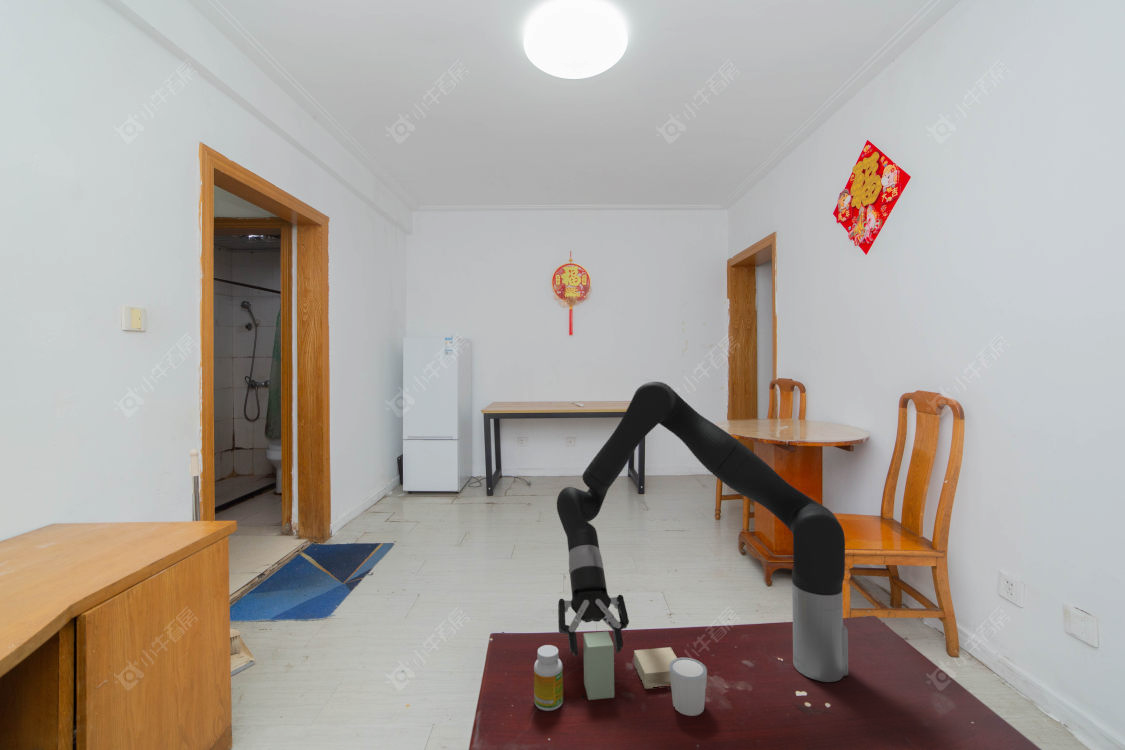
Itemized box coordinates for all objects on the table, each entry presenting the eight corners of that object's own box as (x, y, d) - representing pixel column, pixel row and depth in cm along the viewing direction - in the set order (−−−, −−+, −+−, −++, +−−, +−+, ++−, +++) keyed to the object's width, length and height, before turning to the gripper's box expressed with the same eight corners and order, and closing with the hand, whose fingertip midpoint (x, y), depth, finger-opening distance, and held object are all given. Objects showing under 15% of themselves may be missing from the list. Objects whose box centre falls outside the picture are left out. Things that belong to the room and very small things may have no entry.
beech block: (670, 661, 104) (670, 647, 104) (684, 685, 96) (684, 669, 96) (634, 664, 103) (633, 650, 103) (645, 688, 95) (645, 673, 95)
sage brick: (608, 680, 98) (608, 631, 98) (614, 697, 93) (613, 645, 93) (584, 683, 97) (583, 633, 97) (588, 699, 92) (587, 647, 92)
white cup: (686, 723, 86) (686, 683, 86) (661, 700, 92) (661, 663, 92) (715, 710, 89) (715, 672, 89) (689, 688, 95) (689, 653, 95)
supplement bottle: (559, 713, 89) (559, 660, 89) (531, 710, 90) (530, 657, 90) (565, 694, 94) (564, 644, 94) (538, 691, 95) (537, 641, 95)
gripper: (555, 566, 104) (562, 650, 92) (621, 562, 105) (636, 644, 94) (553, 580, 109) (560, 661, 98) (615, 576, 111) (629, 655, 100)
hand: (597, 653), depth 96 cm, fingers open, 8 cm apart
